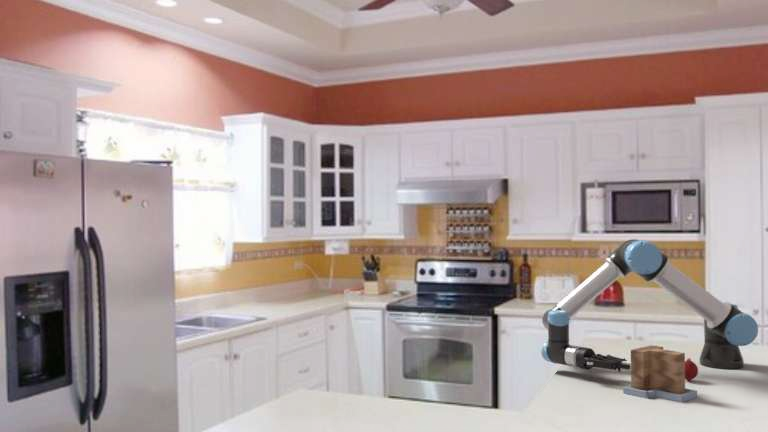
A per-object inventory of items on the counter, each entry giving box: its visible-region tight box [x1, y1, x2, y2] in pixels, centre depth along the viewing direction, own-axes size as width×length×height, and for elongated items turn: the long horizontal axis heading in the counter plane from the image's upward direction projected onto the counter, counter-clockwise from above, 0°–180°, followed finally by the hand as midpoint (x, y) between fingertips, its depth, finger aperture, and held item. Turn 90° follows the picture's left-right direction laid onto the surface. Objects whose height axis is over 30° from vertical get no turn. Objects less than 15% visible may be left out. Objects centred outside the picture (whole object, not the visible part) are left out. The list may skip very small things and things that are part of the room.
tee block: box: [630, 344, 686, 395], centre depth 230 cm, size 14×12×14 cm
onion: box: [685, 357, 699, 382], centre depth 246 cm, size 6×6×8 cm
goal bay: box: [622, 386, 698, 403], centre depth 229 cm, size 18×17×2 cm
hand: (640, 368), depth 235 cm, fingers closed
